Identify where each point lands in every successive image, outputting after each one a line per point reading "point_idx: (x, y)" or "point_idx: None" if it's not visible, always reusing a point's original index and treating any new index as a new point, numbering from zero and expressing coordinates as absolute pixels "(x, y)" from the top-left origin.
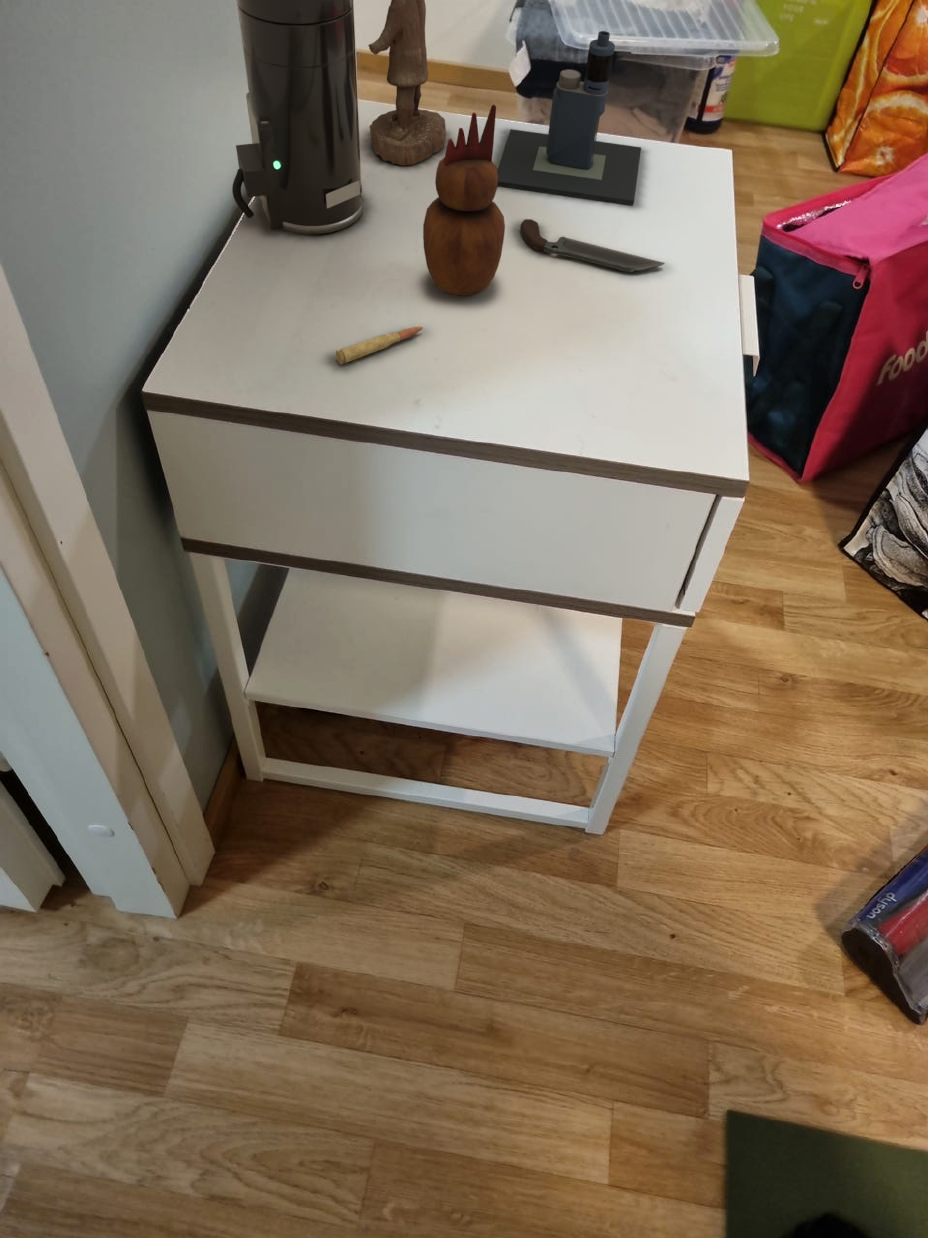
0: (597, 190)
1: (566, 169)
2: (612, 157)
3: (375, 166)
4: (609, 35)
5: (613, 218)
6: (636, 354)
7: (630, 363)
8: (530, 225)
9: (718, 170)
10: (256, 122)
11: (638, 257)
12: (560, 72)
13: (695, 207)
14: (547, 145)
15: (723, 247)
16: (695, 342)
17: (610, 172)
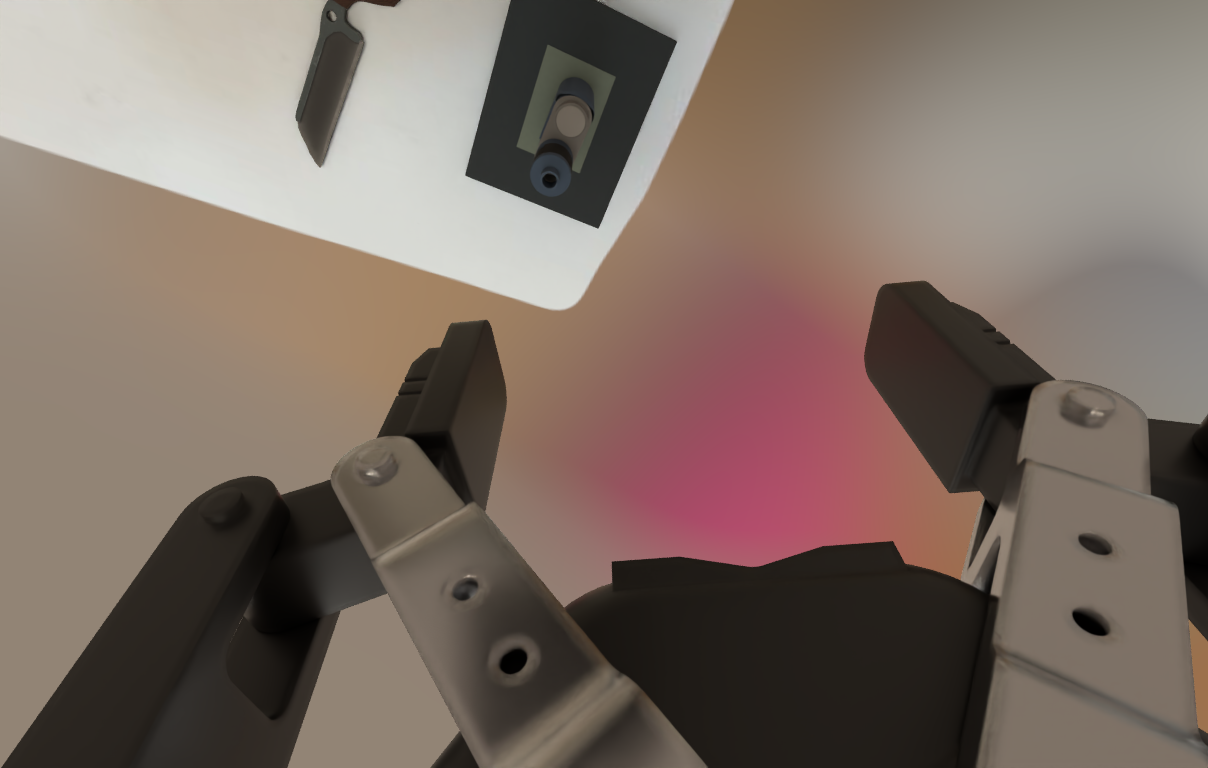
0: (490, 132)
1: (545, 101)
2: (575, 181)
3: None
4: (543, 187)
5: (434, 136)
6: (125, 67)
7: (102, 52)
8: None
9: (546, 304)
10: None
11: (325, 136)
12: (576, 104)
13: (464, 250)
14: (573, 78)
15: (379, 252)
16: (173, 152)
17: None
